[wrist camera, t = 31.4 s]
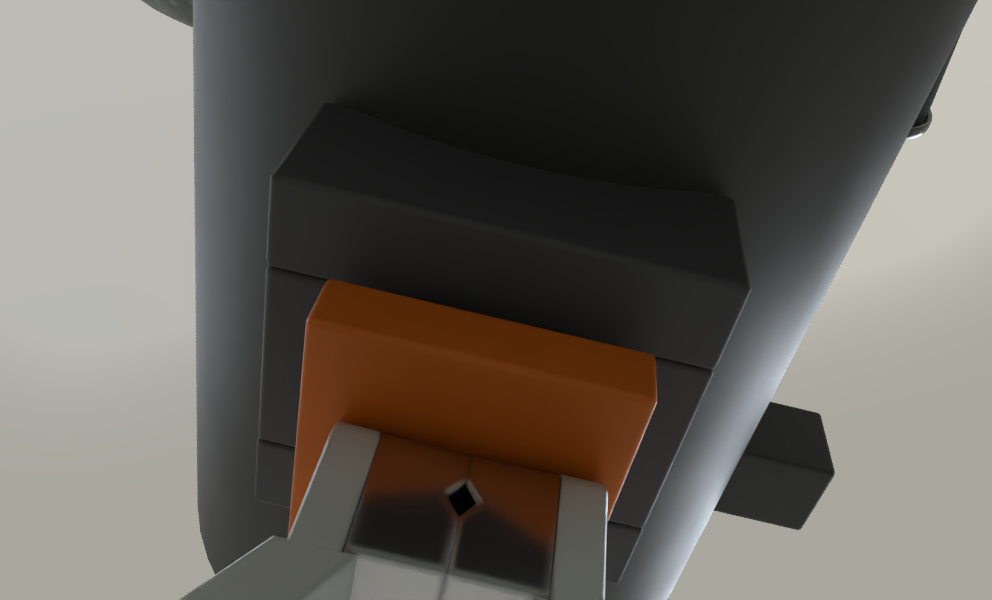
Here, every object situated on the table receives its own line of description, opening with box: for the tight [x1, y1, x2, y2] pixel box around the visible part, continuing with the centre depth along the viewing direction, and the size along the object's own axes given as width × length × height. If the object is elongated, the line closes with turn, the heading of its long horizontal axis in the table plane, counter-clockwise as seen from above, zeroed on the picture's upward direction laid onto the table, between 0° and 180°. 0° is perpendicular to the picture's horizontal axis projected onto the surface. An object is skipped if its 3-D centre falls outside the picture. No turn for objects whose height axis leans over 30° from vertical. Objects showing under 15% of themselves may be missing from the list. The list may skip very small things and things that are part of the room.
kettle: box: [193, 0, 978, 600], centre depth 19 cm, size 18×15×19 cm
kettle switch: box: [288, 279, 657, 535], centre depth 11 cm, size 2×4×4 cm, turn 97°
